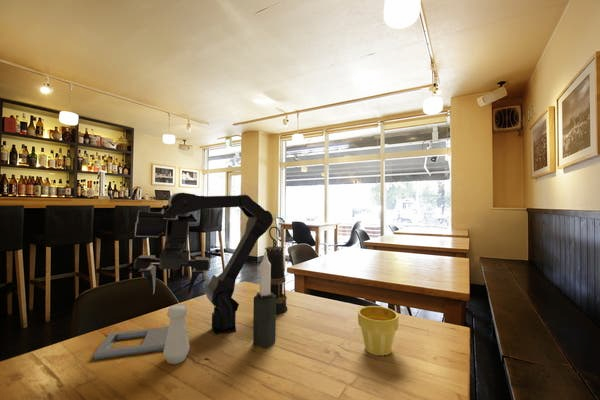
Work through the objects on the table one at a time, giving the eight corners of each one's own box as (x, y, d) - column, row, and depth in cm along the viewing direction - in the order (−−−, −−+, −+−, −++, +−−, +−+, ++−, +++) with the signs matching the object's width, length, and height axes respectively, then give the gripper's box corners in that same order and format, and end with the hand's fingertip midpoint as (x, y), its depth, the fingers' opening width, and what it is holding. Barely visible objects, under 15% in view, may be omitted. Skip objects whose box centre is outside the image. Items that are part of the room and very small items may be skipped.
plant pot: (350, 351, 73) (351, 313, 73) (367, 336, 82) (367, 302, 82) (390, 365, 67) (390, 324, 67) (403, 348, 75) (403, 311, 75)
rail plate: (186, 329, 84) (186, 324, 84) (183, 347, 74) (183, 341, 74) (109, 338, 78) (109, 333, 78) (93, 359, 68) (93, 353, 68)
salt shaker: (179, 367, 65) (180, 311, 65) (157, 364, 66) (158, 309, 66) (194, 354, 71) (194, 302, 71) (173, 351, 72) (174, 300, 72)
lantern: (277, 303, 107) (278, 224, 107) (292, 310, 100) (294, 226, 100) (257, 309, 101) (258, 226, 101) (272, 317, 94) (273, 227, 94)
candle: (277, 340, 78) (278, 251, 79) (267, 349, 74) (268, 254, 74) (261, 336, 81) (262, 249, 81) (251, 344, 76) (252, 252, 76)
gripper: (129, 238, 68) (122, 304, 67) (210, 242, 73) (204, 303, 72) (143, 234, 79) (136, 290, 78) (212, 238, 83) (207, 291, 83)
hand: (171, 294), depth 77 cm, fingers open, 9 cm apart
